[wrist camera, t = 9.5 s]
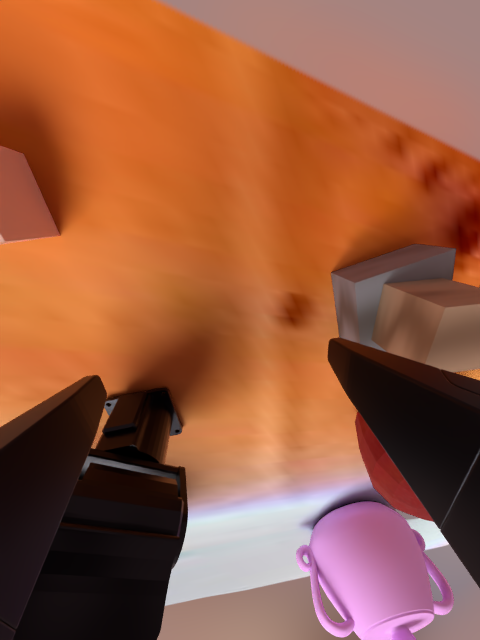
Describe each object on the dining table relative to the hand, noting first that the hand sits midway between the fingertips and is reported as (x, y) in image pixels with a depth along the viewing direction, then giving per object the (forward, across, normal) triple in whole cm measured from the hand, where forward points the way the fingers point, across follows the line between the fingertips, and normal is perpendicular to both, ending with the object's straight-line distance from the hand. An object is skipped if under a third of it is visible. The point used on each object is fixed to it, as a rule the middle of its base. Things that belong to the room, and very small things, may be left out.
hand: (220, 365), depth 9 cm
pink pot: (+12, -17, +48) cm, 52 cm away
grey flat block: (+12, -15, +3) cm, 20 cm away
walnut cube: (+8, -15, +3) cm, 18 cm away
